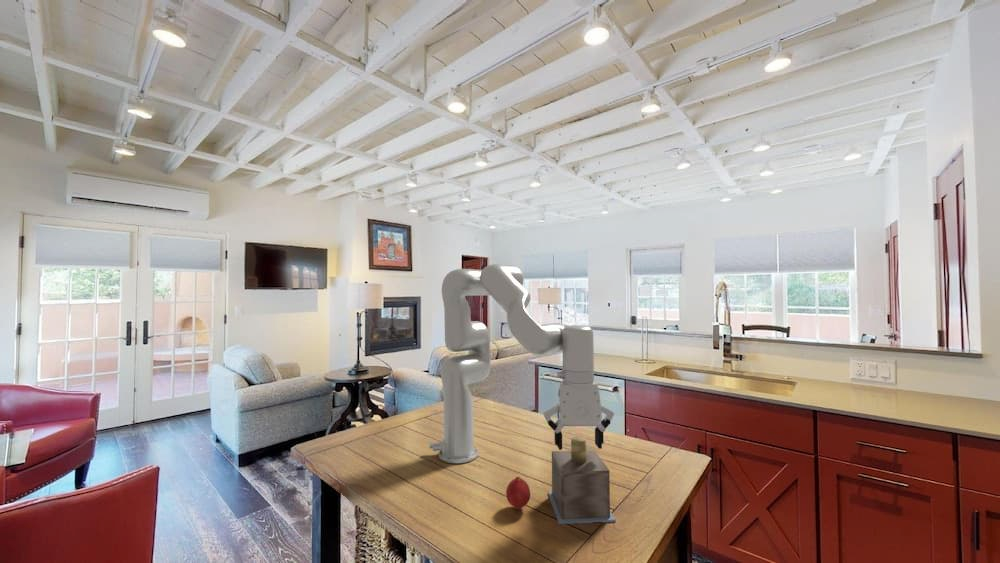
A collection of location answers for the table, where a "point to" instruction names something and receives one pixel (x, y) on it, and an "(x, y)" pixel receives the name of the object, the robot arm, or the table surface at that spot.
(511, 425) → the table surface
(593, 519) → the mat
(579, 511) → the cover
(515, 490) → the onion
